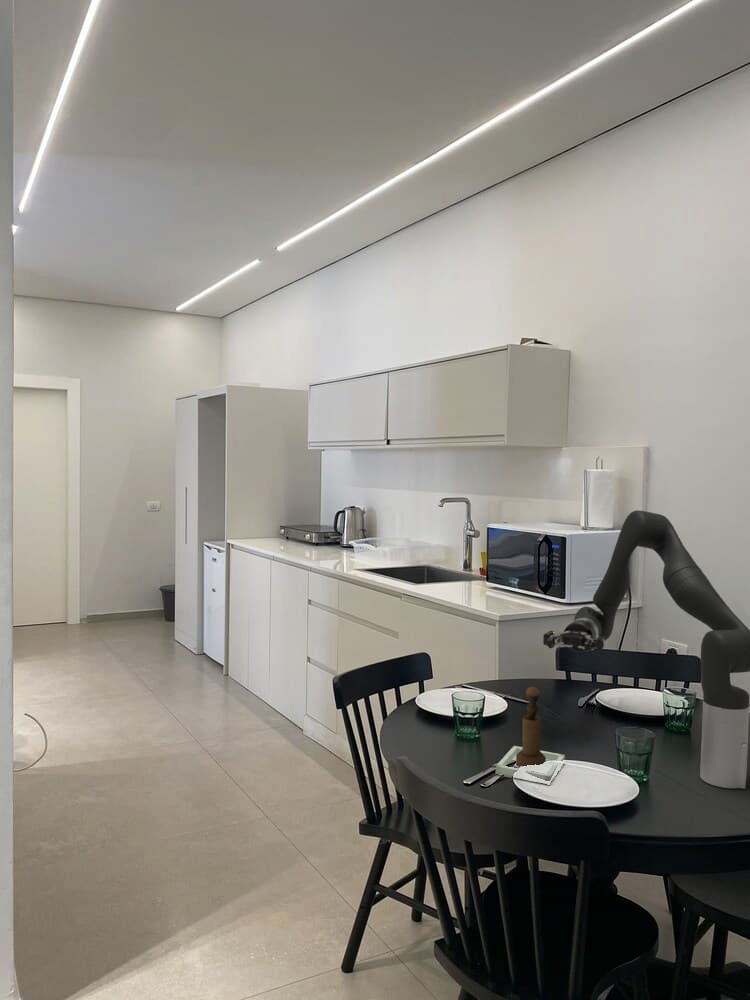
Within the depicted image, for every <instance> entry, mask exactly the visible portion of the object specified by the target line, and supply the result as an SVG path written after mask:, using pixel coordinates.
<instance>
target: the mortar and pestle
mask: <svg viewBox="0 0 750 1000" xmlns="http://www.w3.org/2000/svg"><path fill="white" fill-rule="evenodd" d="M540 694H541V693H540V690H539V689H538V688H537V687H536V686H530V687H528V688H527V689H526V691H525V696H526V698H527V700H528V705H527V707H526V710H527V715H524V716H523V717H522V743H521V744H522V746H521V747H522V750H521V751H520V752H519V753H517V755H516V765H517V766H519V767H520V766H527V765H535V764H536V765H540V764H543V763H544V762H546V757H545V756H544V755H543V754H542V753H541V752H540V751H541V724H542V719H541V716H539V715H537V712H538V707H537V704H536V703H537V701H538V699H539V697H540Z"/></svg>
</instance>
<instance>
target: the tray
mask: <svg viewBox="0 0 750 1000" xmlns="http://www.w3.org/2000/svg"><path fill="white" fill-rule="evenodd" d="M521 750H522V746H517V745H513V746H512V747H511V749H510V750H508V752H507V753H506V754H505V755H504V756H503V758H502V759H501V760H500V761H499V762H498V763H497V764H496V765H495V775H496V774H502V775H504V776H503V777H504V778H509V779H513V778H512V776H513V774H514V773H515V772H517V771H518V770H519V769H518V768H514V767H508V766H506V765H507V763H508V762H509V761H511V760H516V755H517V753H519V752H520V751H521ZM540 752H541V753H542V754H543V755H544V756H545V757H546V760H556V761H563V760H565V761H566V755H565V754H561V753H556V752H550V751H545V750H540ZM557 766H558V765H552V767H551V768H550V770H549V771H548V772H547V774H544V773H539V772H534V771H528V770H527V771H525V772H526V773H528V774H530V775H532V776H535V777H537V778H540V779H543V780H545V781H550V780H551V778H552V776H553V774H554V772H555V770H556V768H557Z"/></svg>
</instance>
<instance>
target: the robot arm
mask: <svg viewBox="0 0 750 1000" xmlns="http://www.w3.org/2000/svg"><path fill="white" fill-rule="evenodd" d="M638 547H640V548H643V549H644V548H646V549H649V550H650V549H651V550H653V552H655V553H656V554H657V555H658V556H659V557H660V559H661V560H662V562H663V564H664V566H663V571H662V580H663V581H662V582H663V585H664V587H665V589H666V591H667V593H668V594H669V595H670V597H671V598H672V601H674V603H675V604H676V605H677V606H678V607H679V608H680V609H681V610H682V611H683V612H684V613H687V614H688V615H689V616H691V617H692V618H694V619H696V620H698V621H699V622H701V623H702V624H704V625H706V626H707V627H708V628H710V629H711V630H710V631H708V632H706V633H705V634H704V636H703V637H702V640H701V644H700V682H701V685H700V686H701V690H702V693H703V697H702V698H703V700H702V723H701V725H702V726H701V747H700V766H699V767H700V768H699V770H700V771H699V773H700V775H699V776H700V779H701V780H702V781H703V782H705V783H707V784H709V785H712V786H715V787H719V788H724V789H742V790H743V789H746V787H747V786H746V785H747V772H748V771H747V769H748V768H747V767H748V750H749V749H748V744H749V721H750V720H749V719H750V718H749V717H750V694H749V693H748V691H746V690H745V689H743V688H741V687H738V686H735V685H734V684H733V685H732V684H731V674H738V673H749V672H750V629H749V628H748V627H747V625H745V623H743V621H741V619H740V618H739V617H738V616H737V615H736V613H734V612H733V611H732V609H731V608H730V607H729V606H728V604H727V603H726V602H725V601H724V599H723V598H722V597H721V596H720V594H719V593H718V591H716V589H715V588H714V586H713V585H712V583H711V581H710V580H709V578H707V576H706V574H705V573H704V572H703V570H702V569H701V568H700V566H699V565H698V564H697V563H696V561H695V560H694V558H693V557H692V556H691V554H690V553H689V551H688V550H687V548H686V547H685V546H684V544H683V542H682V540H681V538H680V537H679V535H678V533H677V531H676V529H675V527H674V525H673V524H672V523H671V521H670V520H669V519H668V518H667V516H665V515H663V514H661V513H655V512H650V511H646V510H638V509H637V510H634V511H632V512H630V513H629V514H628V515H627V516H626V518H625V520H624V522H623V524H622V526H621V529H620V532H619V535H618V538H617V540H616V543H615V546H614V549H613V552H612V556H611V559H610V561H609V565H608V567H607V569H606V571H605V574H604V576H603V578H602V580H601V581H600V583H599V585H598V587H597V589H596V591H595V593H594V595H593V597H592V601H593V604H594V605H595V606H596V608H597V609H598V610H600V612H599V611H598V610H596V609H594V608H592V607H590V606H582V607H580V609H579V610H577V612H576V614H575V615H574V619H573V621H572V622H570V623H569V624H568V625H567V626H566V627H565V628H564V630H563V631H562V632H557V633H556V634H555V631H554V630H549V631H547V632H546V633H544V634H543V635H542V636H543V638H542V639H543V641H542V642H543V645H544V646H547V647H548V649H553V648H554V647H556V646H557V647H558V648H565V647H566V648H568V649H570V650H571V651H573V652H577V653H581V652H585V653H588V652H590V651H594V650H595V649H596V650H597V651H603V649H604V648H605V641H607V640H608V639H609V638H610V637H611V635H612V633H613V629H614V624H615V619H616V615H617V611H618V610H619V609H618V608H619V607H620V605H621V603H622V602H623V600H624V598H625V596H626V595H627V592H628V590H629V587H630V579H631V577H630V576H631V575H630V559H631V557H632V555H633V553H634V551H635V550H636V548H638Z"/></svg>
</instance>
